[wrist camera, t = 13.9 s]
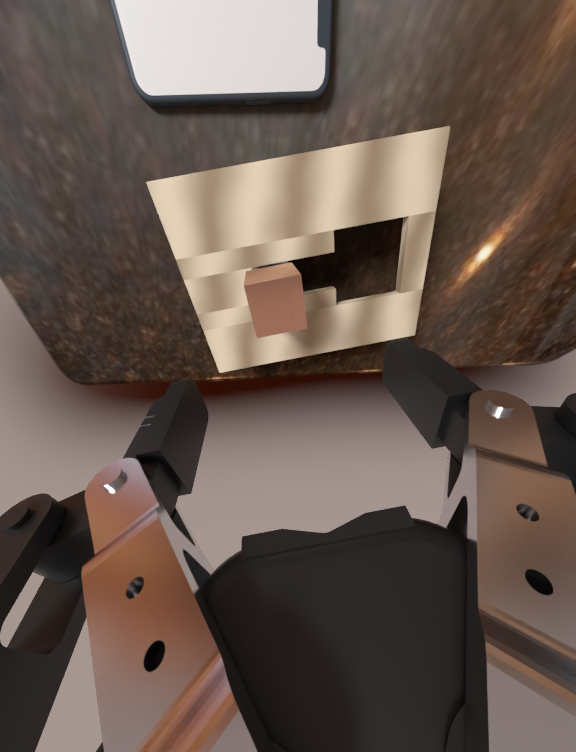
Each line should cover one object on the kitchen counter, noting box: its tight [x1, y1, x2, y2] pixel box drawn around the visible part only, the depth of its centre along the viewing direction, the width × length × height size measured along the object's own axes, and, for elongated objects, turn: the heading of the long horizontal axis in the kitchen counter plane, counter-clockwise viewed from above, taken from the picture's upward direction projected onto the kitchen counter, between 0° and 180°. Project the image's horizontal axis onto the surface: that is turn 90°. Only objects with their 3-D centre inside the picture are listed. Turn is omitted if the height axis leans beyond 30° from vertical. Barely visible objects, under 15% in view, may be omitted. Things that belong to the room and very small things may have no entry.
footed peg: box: [244, 261, 307, 338], centre depth 23 cm, size 5×5×14 cm
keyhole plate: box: [146, 126, 450, 373], centre depth 26 cm, size 24×18×6 cm
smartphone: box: [109, 0, 332, 107], centre depth 18 cm, size 9×2×16 cm
